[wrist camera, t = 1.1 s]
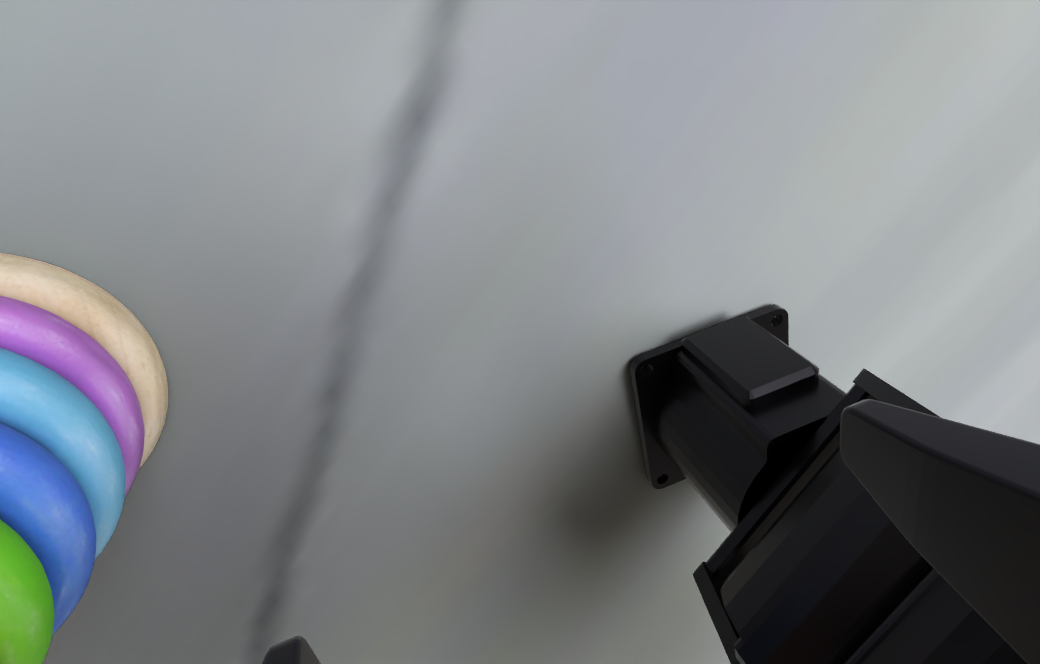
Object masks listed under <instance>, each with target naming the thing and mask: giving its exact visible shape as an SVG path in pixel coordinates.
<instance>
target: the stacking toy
mask: <svg viewBox="0 0 1040 664" xmlns="http://www.w3.org/2000/svg"><path fill="white" fill-rule="evenodd" d="M167 408H168V383H167V376H166V372H165V368H164V364H163V362H162V359H161V357H160V354H159V352H158V349H157V347H156V346H155V344H154V342H153V340H152V338H151V337H150V335H149V334H148V332H147V331H146V330H145V328H144V327H143V325H142V324H141V323H140V322H139V321H138V319H137V318H136V317H135V316H134V315H133V314H132V313H131V312H130V311H129V310H128V309H127V308H126V307H125V306H124V305H123V304H122V303H120V302H119V301H118V300H117V299H116V298H114V297H113V296H112V295H110V294H109V293H108V292H106V291H105V290H103V289H102V288H100V287H99V286H97V285H95V284H94V283H92V282H90V281H88V280H86V279H84V278H82V277H80V276H78V275H76V274H74V273H72V272H70V271H68V270H66V269H63V268H60V267H57V266H54V265H51V264H49V263H46V262H42V261H39V260H35V259H31V258H27V257H22V256H17V255H11V254H6V253H0V664H42V663H43V661H44V659H45V656H46V654H47V651H48V648H49V644H50V641H51V638H52V635H53V634H54V633H55V632H56V631H57V630H58V629H59V628H60V627H61V625H62V624H63V623H64V622H65V620H66V619H67V618H68V616H69V615H70V614H71V613H72V611H73V610H74V608H75V606H76V605H77V603H78V602H79V600H80V598H81V597H82V595H83V593H84V591H85V589H86V586H87V584H88V582H89V579H90V576H91V573H92V569H93V566H94V562H95V559H96V558H97V557H98V556H99V554H100V553H101V552H102V551H103V549H104V548H105V546H106V545H107V543H108V541H109V540H110V538H111V536H112V534H113V533H114V531H115V528H116V526H117V523H118V521H119V518H120V516H121V512H122V508H123V504H124V499H125V496H126V495H127V493H128V491H129V490H130V488H131V486H132V484H133V482H134V480H135V478H136V475H137V472H138V470H139V469H140V468H141V466H142V465H143V464H144V462H145V461H146V460H147V458H148V457H149V455H150V454H151V452H152V451H153V449H154V447H155V446H156V444H157V442H158V439H159V437H160V435H161V432H162V429H163V426H164V423H165V420H166V414H167Z"/></svg>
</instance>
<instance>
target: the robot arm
mask: <svg viewBox="0 0 1040 664" xmlns="http://www.w3.org/2000/svg"><path fill="white" fill-rule="evenodd" d="M774 316H776V317H775V318H774V320H773V321H772V319H773V317H774ZM646 365H648V367H647V368H646V369H645V370H644V371H641V370H642V368H643V367H644V366H646ZM630 374H631V380H632V386H633V392H634V399H635V405H636V411H637V417H638V424H639V430H640V436H641V443H642V449H643V455H644V461H645V468H646V474H647V478H648V481H649V482H650V483H651V485H652V486H653V487H654V488H656V489H661V488H665V487H667V486H669V485H672V484H674V483H677V482H679V481H681V480H684V479H686V478H687V480H688V481H689V482H690V483H691V484H692V486H693V487H694V488H695V489H696V490H697V492H698V493H699V494H700V495H701V496H702V498H703V499H704V500H705V501H706V502H707V504H708V505H709V506H710V507H711V508H712V510H713V511H714V512H715V513H716V514H717V516H718V517H719V518H720V519H721V520H722V522H723V523H724V524H725V525H726V526H727V528H728V529H729V530H730V531H731V533H730V535H729V536H728V537H727V538H726V539H725V541H724V542H723V543H722V544H721V545H720V547H719V548H718V549H717V550H716V551H715V553H714V554H713V555H712V556H711V557H710V559H709V560H708V561H707V562H702V564H701V565H700V566H699V567H698V568H697V570H696V571H695V572H694V573H693V577H694V579H695V581H696V583H697V586H698V588H699V590H700V593H701V595H702V598H703V600H704V603H705V605H706V607H707V609H708V612H709V614H710V616H711V619H712V621H713V623H714V626H715V628H716V630H717V632H718V635H719V637H720V639H721V642H722V644H723V646H724V649H725V651H726V653H727V656H728V658H729V660H730V663H731V664H1040V444H1036V443H1032V442H1028V441H1025V440H1021V439H1017V438H1014V437H1010V436H1006V435H1003V434H999V433H995V432H991V431H988V430H984V429H980V428H977V427H973V426H969V425H965V424H962V423H958V422H954V421H951V420H947V419H943V418H941V417H939V416H938V415H936V414H935V413H933V412H931V411H930V410H928V409H927V408H925V407H924V406H922V405H920V404H919V403H917V402H916V401H914V400H913V399H911V398H909V397H908V396H906V395H905V394H903V393H902V392H900V391H899V390H897V389H895V388H894V387H892V386H891V385H889V384H888V383H886V382H884V381H883V380H881V379H880V378H878V377H877V376H875V375H874V374H872V373H870V372H869V371H867V370H866V369H863V370H862V371H861V372H860V374H859V375H858V376H857V377H856V378H855V380H854V381H853V382H854V383H855V384H854V386H853V387H852V388H851V389H850V390H849V392H848V393H847V394H846V393H845V392H844V391H842V390H841V389H839V388H838V387H837V386H835V385H834V384H832V383H831V382H830V381H828V380H827V379H826V378H824V377H823V376H821V375H820V374H819V368H818V367H817V366H816V365H815V364H813V363H812V362H810V361H809V360H807V359H806V358H805V357H803V356H802V355H800V354H799V353H798V352H796V351H795V350H793V349H792V348H791V347H789V344H788V313H787V311H786V310H785V309H783V308H781V307H780V306H778V305H775V304H774V305H769V306H766V307H764V308H761V309H759V310H756V311H753V312H751V313H748V314H746V315H742V316H739V317H736V318H734V319H731V320H728V321H726V322H723V323H720V324H718V325H715V326H713V327H710V328H707V329H705V330H702V331H699V332H697V333H694V334H692V335H689V336H687V337H685V338H683V339H680V340H677V341H675V342H672V343H669V344H667V345H664V346H662V347H659V348H656V349H654V350H651V351H648V352H646V353H643V354H641V355H639V356H637V357H636V358H635V359H634V360H633V361H632V363H631V365H630ZM660 475H662V476H660ZM659 476H660V477H659ZM658 477H659V478H658ZM262 664H321V663H320V662H319V660H318V659H317V657H316V655H315V654H314V652H313V651H312V649H311V647H310V646H309V644H308V643H307V641H306V640H305V639H304V638H303V637H302V636H295V637H293V638H291V639H288V640H286V641H283V642H281V643H279V644H276V645H274V646H272V647H271V648H270V649H269V651H268V652H267V654H266V656H265V658H264V660H263V663H262Z"/></svg>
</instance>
